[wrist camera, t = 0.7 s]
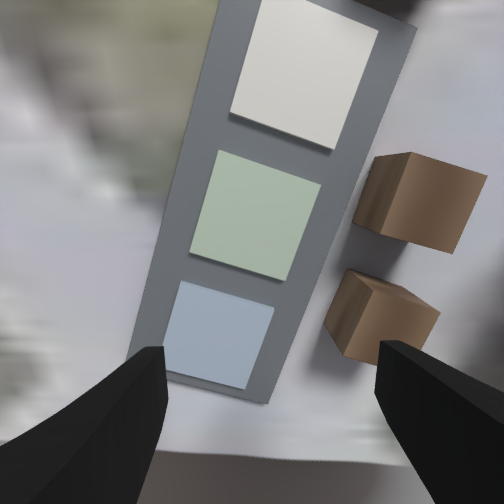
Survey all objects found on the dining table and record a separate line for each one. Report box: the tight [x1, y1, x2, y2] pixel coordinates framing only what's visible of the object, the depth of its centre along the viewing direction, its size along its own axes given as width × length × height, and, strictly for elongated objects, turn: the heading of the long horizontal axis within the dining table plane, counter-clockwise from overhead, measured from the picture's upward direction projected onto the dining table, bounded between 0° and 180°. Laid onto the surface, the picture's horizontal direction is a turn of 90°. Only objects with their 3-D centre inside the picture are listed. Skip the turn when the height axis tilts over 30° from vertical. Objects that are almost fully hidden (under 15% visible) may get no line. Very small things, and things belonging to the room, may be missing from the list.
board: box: [126, 0, 418, 404], centre depth 18 cm, size 10×24×1 cm, turn 162°
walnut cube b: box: [324, 268, 440, 366], centre depth 18 cm, size 4×4×4 cm
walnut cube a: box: [352, 152, 487, 254], centre depth 17 cm, size 4×4×4 cm
